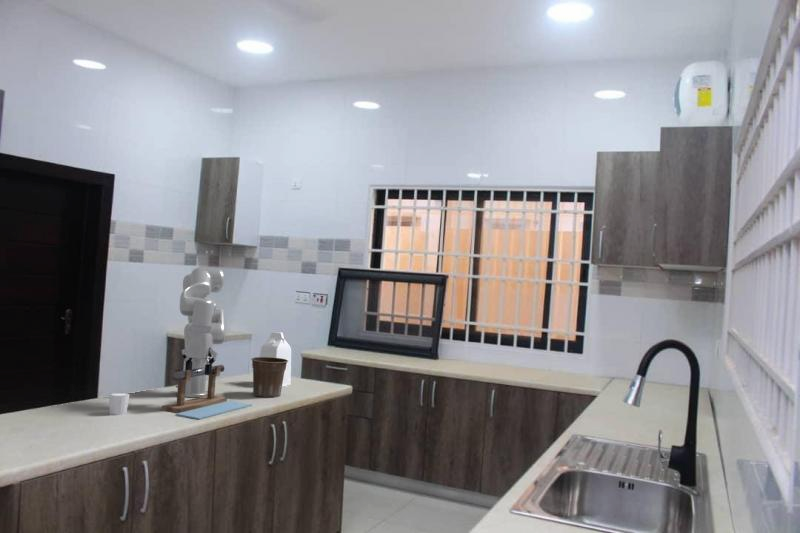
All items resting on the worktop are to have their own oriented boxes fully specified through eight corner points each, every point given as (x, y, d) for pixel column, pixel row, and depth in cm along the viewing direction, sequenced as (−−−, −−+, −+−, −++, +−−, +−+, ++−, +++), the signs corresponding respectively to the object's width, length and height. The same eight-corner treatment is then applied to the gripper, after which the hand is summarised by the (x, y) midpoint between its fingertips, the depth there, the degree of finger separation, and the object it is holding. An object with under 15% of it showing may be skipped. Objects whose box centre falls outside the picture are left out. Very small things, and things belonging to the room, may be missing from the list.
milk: (290, 385, 312) (294, 333, 313) (274, 388, 302) (278, 334, 303) (272, 382, 318) (276, 330, 319) (256, 384, 309) (260, 331, 309)
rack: (161, 409, 243) (164, 370, 243) (209, 398, 268) (212, 362, 269) (180, 413, 239) (183, 372, 239) (226, 401, 265) (229, 365, 265)
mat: (175, 415, 235) (175, 413, 235) (229, 402, 264) (229, 400, 264) (199, 419, 231) (199, 418, 231) (251, 405, 260) (251, 404, 260)
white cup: (106, 415, 228) (107, 395, 228) (109, 411, 235) (111, 392, 235) (126, 415, 230) (128, 396, 230) (129, 411, 237) (130, 392, 237)
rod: (175, 381, 240) (178, 374, 240) (170, 377, 242) (172, 370, 241) (222, 373, 266) (225, 366, 266) (217, 369, 267) (220, 363, 267)
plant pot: (289, 393, 292) (292, 358, 292) (279, 400, 276) (282, 363, 276) (255, 390, 293) (258, 355, 294) (243, 396, 277) (246, 360, 278)
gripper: (177, 328, 254) (174, 371, 253) (212, 332, 247) (209, 376, 247) (190, 328, 261) (187, 369, 260) (224, 331, 254) (221, 374, 254)
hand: (198, 372), depth 254 cm, fingers open, 9 cm apart
